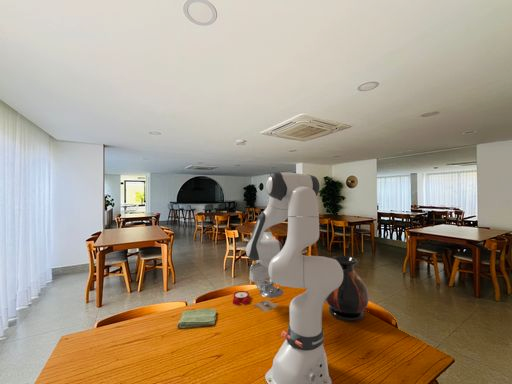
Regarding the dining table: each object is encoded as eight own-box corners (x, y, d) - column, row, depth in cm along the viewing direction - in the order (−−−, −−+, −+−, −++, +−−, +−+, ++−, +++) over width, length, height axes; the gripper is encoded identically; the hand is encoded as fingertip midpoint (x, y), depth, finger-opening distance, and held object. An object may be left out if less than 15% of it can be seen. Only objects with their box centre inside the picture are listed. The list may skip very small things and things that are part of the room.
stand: (265, 314, 109) (265, 310, 109) (253, 307, 117) (253, 303, 117) (279, 308, 116) (278, 303, 116) (266, 301, 123) (266, 297, 123)
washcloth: (215, 326, 100) (215, 319, 100) (176, 330, 98) (176, 323, 98) (216, 312, 113) (216, 306, 113) (182, 315, 111) (182, 309, 111)
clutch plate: (265, 291, 111) (265, 285, 112) (255, 287, 117) (255, 281, 117) (273, 288, 116) (273, 282, 116) (264, 284, 121) (264, 279, 122)
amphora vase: (323, 301, 122) (322, 252, 123) (365, 306, 116) (363, 255, 117) (323, 322, 102) (321, 263, 103) (373, 330, 95) (371, 267, 96)
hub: (271, 302, 122) (271, 295, 122) (254, 293, 134) (254, 287, 134) (288, 294, 132) (288, 288, 132) (271, 287, 143) (271, 281, 144)
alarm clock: (249, 289, 131) (250, 294, 117) (250, 300, 130) (250, 307, 115) (233, 290, 131) (231, 295, 116) (232, 301, 129) (231, 308, 115)
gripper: (254, 265, 108) (254, 293, 107) (281, 258, 121) (282, 283, 120) (246, 262, 113) (246, 289, 112) (273, 256, 126) (274, 280, 125)
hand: (265, 286), depth 116 cm, fingers closed on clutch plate, 6 cm apart
